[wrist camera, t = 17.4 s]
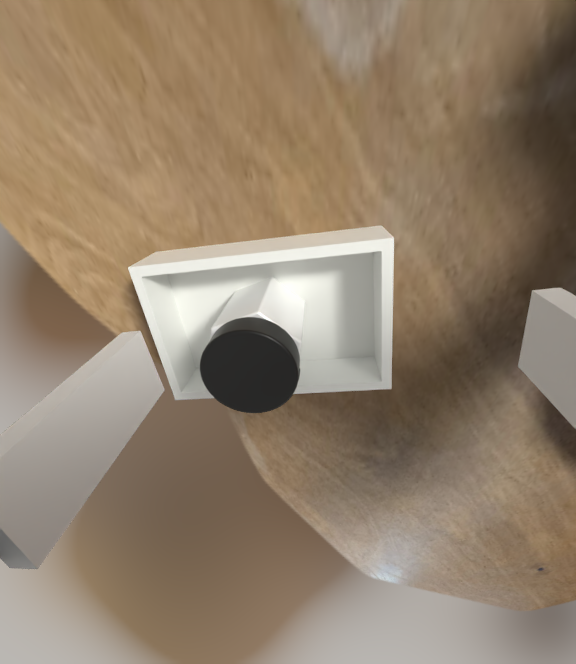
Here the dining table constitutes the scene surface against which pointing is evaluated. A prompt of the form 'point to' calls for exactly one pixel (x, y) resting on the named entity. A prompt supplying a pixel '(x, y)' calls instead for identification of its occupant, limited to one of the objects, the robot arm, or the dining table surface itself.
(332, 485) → the dining table surface
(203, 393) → the bin
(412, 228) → the dining table surface
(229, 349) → the jar
